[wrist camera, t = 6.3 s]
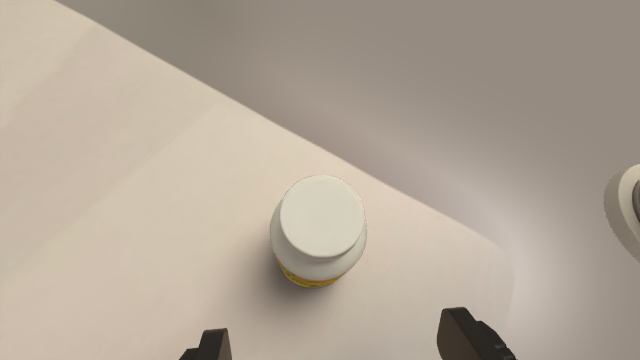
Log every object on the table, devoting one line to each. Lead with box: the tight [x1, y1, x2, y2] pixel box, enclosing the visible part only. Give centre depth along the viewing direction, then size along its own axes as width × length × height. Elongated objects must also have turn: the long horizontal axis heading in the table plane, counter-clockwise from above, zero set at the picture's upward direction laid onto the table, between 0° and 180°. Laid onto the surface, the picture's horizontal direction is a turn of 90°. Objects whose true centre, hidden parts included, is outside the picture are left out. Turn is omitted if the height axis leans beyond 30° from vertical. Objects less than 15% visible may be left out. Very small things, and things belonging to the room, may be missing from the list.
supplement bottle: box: [270, 175, 367, 288], centre depth 18 cm, size 5×5×10 cm
